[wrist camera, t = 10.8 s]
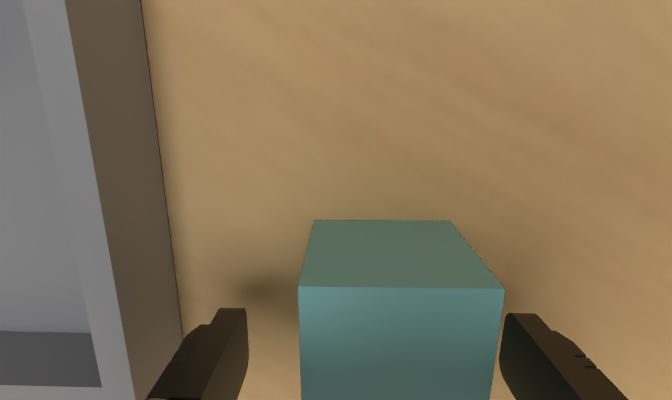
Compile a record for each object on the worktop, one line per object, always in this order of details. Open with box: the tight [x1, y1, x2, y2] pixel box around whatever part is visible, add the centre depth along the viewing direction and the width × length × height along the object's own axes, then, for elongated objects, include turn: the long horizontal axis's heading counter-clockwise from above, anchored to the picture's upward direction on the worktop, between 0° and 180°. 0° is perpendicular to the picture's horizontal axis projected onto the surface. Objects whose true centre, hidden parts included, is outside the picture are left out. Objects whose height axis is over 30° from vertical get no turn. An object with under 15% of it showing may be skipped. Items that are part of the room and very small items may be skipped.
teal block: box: [298, 220, 505, 400], centre depth 12 cm, size 5×5×5 cm
